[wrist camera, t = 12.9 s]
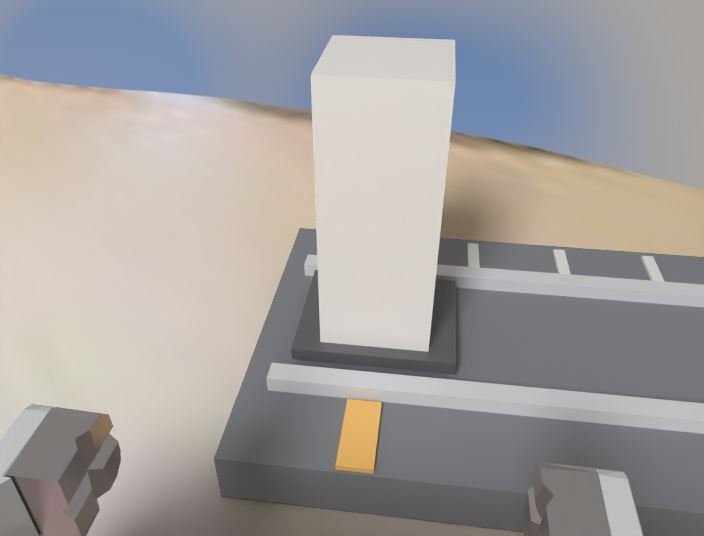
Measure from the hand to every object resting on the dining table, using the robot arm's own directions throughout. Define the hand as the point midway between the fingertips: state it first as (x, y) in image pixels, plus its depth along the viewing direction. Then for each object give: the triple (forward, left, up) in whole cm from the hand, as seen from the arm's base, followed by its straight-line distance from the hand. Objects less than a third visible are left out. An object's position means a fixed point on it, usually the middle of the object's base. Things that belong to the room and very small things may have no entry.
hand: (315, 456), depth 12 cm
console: (-6, -12, -9) cm, 16 cm away
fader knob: (0, -12, -6) cm, 13 cm away
